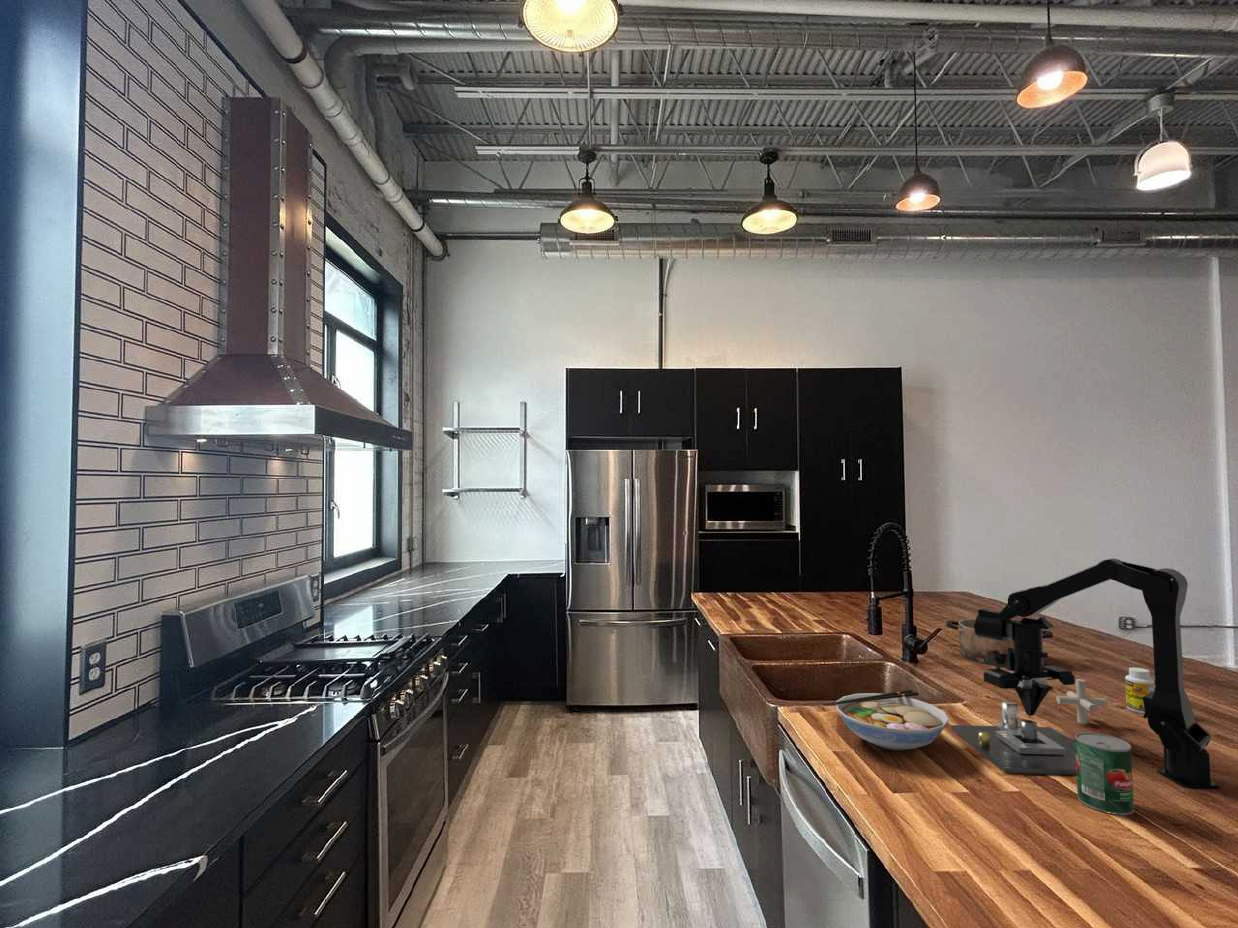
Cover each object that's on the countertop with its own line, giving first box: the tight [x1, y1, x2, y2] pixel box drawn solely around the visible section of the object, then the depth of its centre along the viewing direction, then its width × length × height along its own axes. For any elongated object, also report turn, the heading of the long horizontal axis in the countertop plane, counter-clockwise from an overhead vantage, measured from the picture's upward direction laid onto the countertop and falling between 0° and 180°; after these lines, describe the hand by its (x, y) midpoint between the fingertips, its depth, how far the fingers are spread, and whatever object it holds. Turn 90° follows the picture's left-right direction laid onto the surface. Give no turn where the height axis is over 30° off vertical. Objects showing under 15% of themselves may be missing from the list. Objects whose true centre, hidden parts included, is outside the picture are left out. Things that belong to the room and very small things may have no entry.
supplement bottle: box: [1124, 667, 1155, 715], centre depth 153 cm, size 6×6×10 cm
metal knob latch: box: [996, 700, 1065, 755], centre depth 132 cm, size 14×9×6 cm, turn 176°
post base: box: [951, 719, 1077, 776], centre depth 129 cm, size 22×22×6 cm
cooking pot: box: [945, 618, 1054, 667], centre depth 201 cm, size 30×22×11 cm
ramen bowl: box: [822, 689, 950, 752], centre depth 133 cm, size 25×23×8 cm
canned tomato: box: [1074, 731, 1135, 816], centre depth 108 cm, size 8×8×11 cm
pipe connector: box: [1056, 678, 1108, 725], centre depth 145 cm, size 10×10×10 cm
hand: (1029, 715), depth 137 cm, fingers closed
